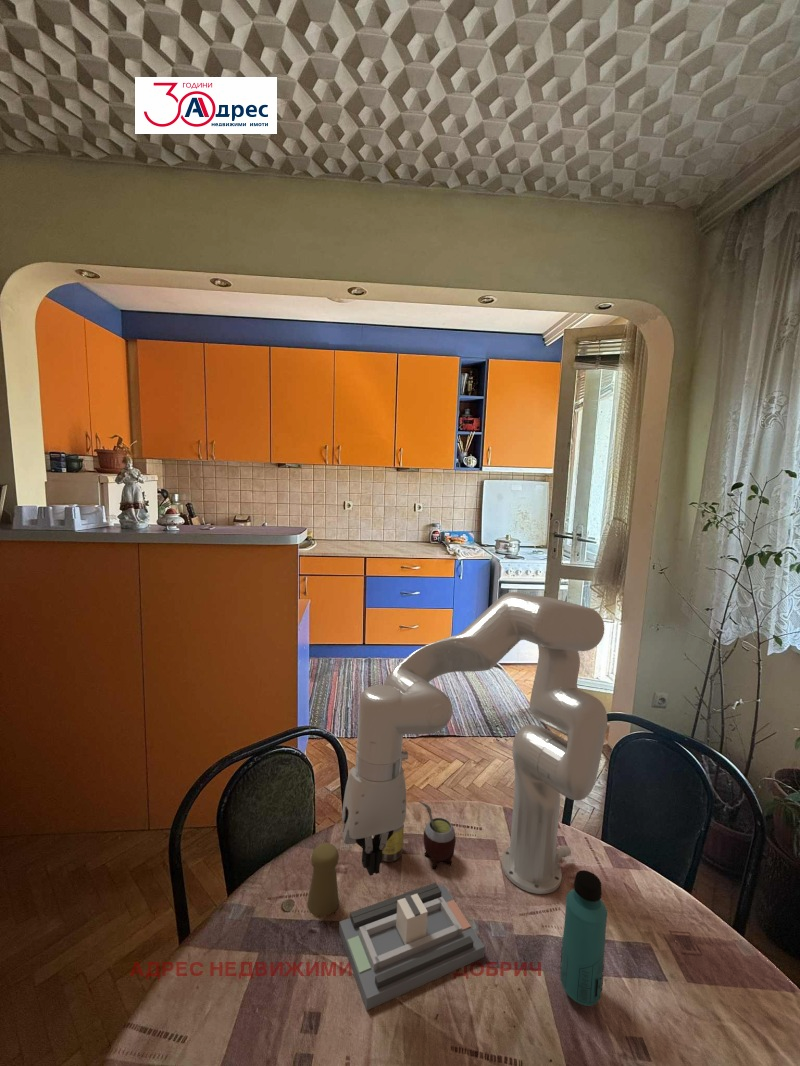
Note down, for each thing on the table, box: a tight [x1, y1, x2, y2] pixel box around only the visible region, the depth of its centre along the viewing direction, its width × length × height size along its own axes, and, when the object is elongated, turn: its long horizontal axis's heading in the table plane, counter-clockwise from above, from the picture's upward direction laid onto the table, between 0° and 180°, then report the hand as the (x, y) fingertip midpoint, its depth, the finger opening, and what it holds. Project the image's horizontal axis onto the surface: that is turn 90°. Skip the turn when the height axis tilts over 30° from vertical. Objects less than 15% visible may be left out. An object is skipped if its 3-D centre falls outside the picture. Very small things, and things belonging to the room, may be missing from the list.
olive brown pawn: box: [306, 842, 340, 918], centre depth 89 cm, size 6×6×11 cm
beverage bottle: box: [559, 869, 608, 1007], centre depth 74 cm, size 6×7×20 cm
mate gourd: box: [418, 800, 457, 871], centre depth 101 cm, size 8×8×15 cm
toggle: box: [396, 894, 428, 945], centre depth 81 cm, size 4×4×5 cm
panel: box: [338, 882, 486, 1011], centre depth 82 cm, size 22×14×3 cm, turn 115°
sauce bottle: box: [382, 800, 405, 863], centre depth 102 cm, size 6×6×20 cm
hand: (371, 868), depth 77 cm, fingers closed
